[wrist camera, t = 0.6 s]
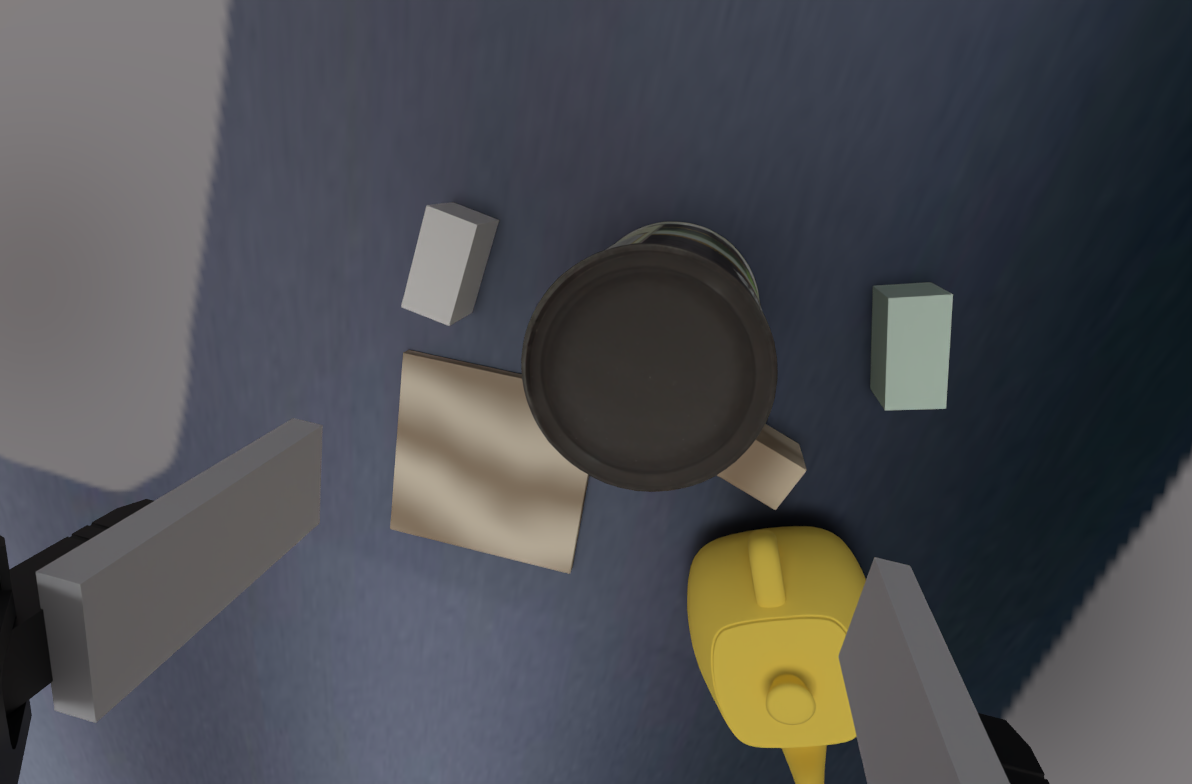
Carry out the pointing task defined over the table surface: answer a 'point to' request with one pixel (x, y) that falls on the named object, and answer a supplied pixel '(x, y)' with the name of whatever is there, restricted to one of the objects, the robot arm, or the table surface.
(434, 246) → the off-white brick
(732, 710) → the teapot
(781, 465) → the beech brick
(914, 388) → the pale green brick
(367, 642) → the table surface
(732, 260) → the coffee can
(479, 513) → the trivet
